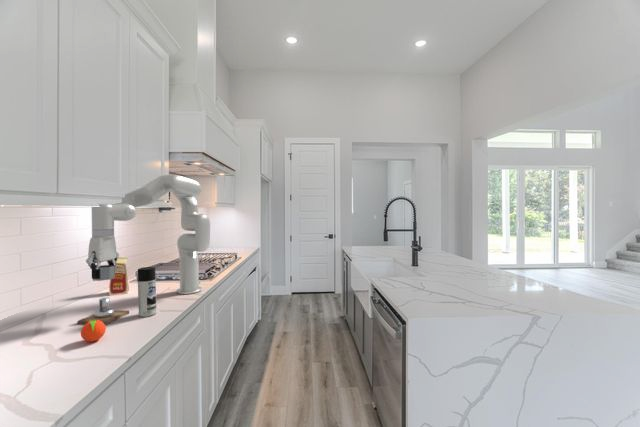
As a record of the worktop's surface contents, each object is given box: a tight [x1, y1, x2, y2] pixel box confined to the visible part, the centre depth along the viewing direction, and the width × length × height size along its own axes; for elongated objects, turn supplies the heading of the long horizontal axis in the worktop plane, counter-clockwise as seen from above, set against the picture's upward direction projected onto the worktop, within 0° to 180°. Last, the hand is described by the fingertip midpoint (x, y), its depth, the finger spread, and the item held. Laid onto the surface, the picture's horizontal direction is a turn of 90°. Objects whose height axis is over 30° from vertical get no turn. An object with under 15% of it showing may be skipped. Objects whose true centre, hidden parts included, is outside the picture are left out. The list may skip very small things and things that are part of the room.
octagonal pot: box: [92, 264, 115, 282], centre depth 126 cm, size 7×7×5 cm
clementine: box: [80, 320, 107, 343], centre depth 105 cm, size 8×7×7 cm
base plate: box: [76, 309, 130, 326], centre depth 127 cm, size 13×12×1 cm
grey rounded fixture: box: [94, 297, 115, 318], centre depth 127 cm, size 7×7×7 cm
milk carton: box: [108, 256, 130, 297], centre depth 166 cm, size 9×9×20 cm
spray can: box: [137, 266, 157, 318], centre depth 131 cm, size 7×7×20 cm
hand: (103, 276), depth 127 cm, fingers closed on octagonal pot, 7 cm apart
